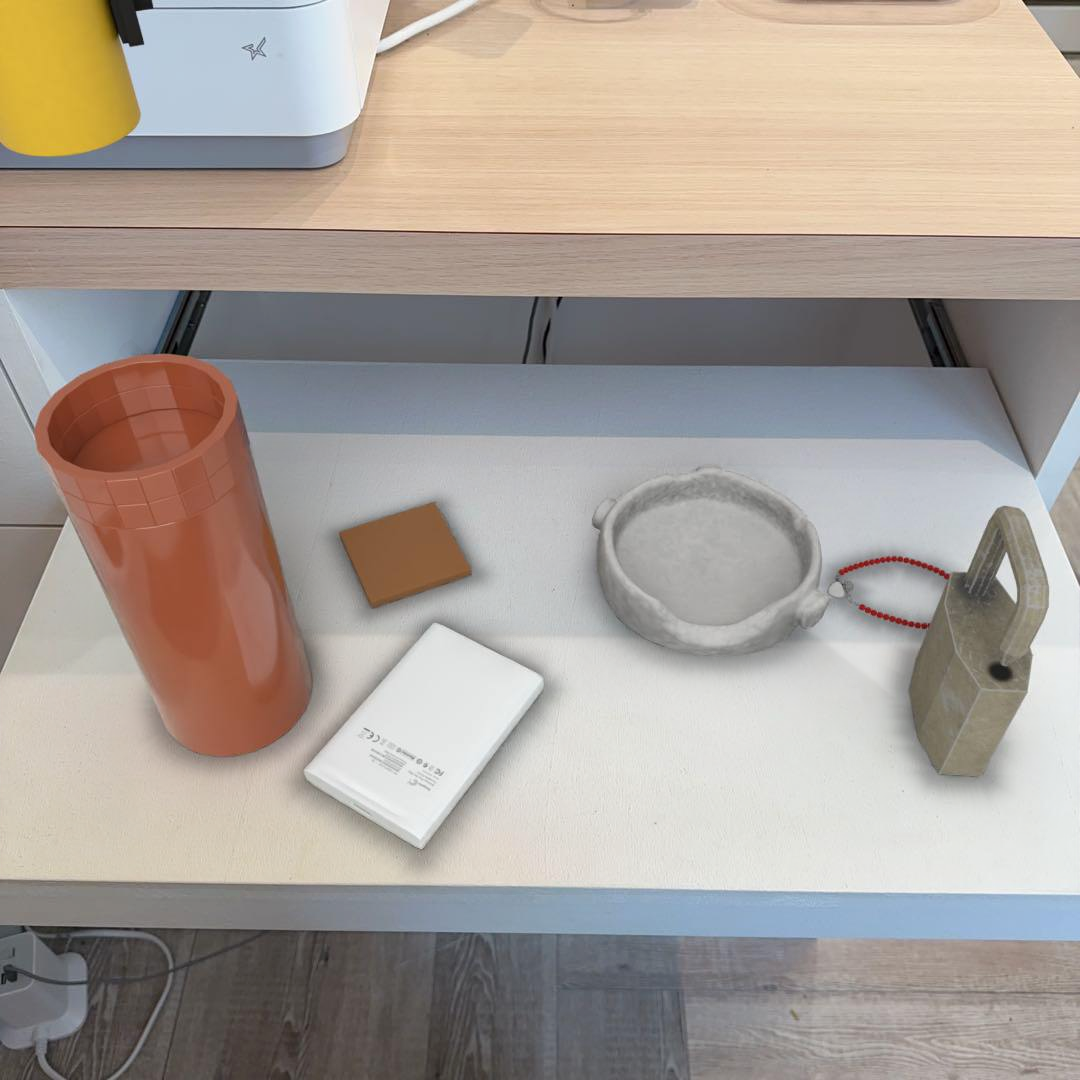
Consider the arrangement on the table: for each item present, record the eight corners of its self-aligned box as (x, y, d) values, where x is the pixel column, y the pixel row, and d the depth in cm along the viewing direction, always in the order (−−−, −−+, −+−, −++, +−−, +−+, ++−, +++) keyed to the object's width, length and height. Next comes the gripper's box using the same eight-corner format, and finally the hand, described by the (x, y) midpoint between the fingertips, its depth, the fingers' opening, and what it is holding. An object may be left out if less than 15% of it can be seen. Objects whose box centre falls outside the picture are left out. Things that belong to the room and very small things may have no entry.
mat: (371, 608, 70) (370, 602, 70) (339, 537, 74) (338, 531, 74) (471, 575, 72) (471, 569, 72) (435, 507, 76) (434, 501, 76)
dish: (845, 645, 68) (862, 594, 64) (634, 692, 65) (640, 641, 62) (755, 491, 77) (766, 438, 74) (569, 527, 75) (570, 474, 71)
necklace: (824, 617, 69) (827, 607, 68) (826, 549, 73) (829, 539, 72) (964, 638, 68) (969, 628, 67) (959, 568, 72) (963, 558, 71)
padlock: (924, 773, 61) (1005, 603, 50) (902, 659, 67) (970, 483, 56) (995, 778, 61) (1092, 608, 50) (967, 662, 67) (1048, 487, 56)
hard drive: (544, 692, 65) (422, 852, 58) (434, 636, 68) (306, 781, 61) (544, 675, 64) (419, 837, 57) (433, 619, 67) (301, 766, 60)
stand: (178, 779, 61) (47, 504, 45) (149, 663, 67) (24, 383, 51) (330, 724, 64) (257, 445, 48) (290, 617, 70) (213, 335, 54)
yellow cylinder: (4, 169, 38) (-93, -79, 33) (-8, 109, 42) (-98, -126, 36) (152, 140, 40) (85, -102, 34) (129, 85, 43) (63, -145, 37)
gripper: (-713, -765, 21) (-223, 138, 34) (179, -739, 25) (305, 45, 39) (-610, -732, 25) (-215, 49, 39) (127, -716, 30) (255, -25, 43)
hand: (43, 41), depth 39 cm, fingers closed on yellow cylinder, 5 cm apart
